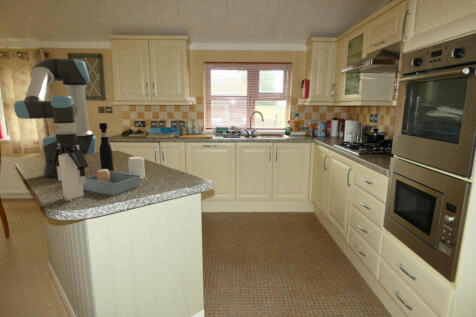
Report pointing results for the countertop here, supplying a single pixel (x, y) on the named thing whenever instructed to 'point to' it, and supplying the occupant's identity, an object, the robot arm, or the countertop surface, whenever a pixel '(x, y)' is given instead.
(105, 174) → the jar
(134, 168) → the beverage can
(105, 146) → the wine bottle
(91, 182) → the tote
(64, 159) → the milk
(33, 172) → the countertop surface
